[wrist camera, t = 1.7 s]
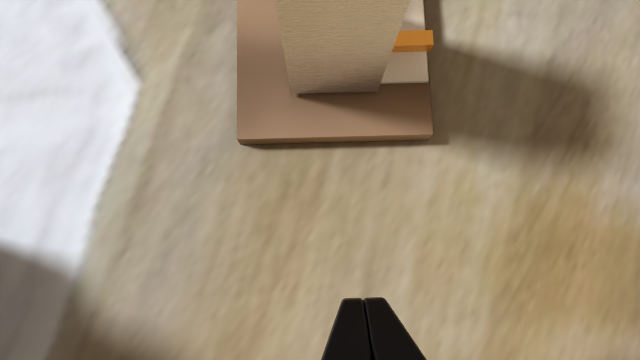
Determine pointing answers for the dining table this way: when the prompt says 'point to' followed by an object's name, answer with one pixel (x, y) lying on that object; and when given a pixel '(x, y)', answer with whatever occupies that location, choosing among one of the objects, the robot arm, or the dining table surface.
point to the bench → (325, 108)
